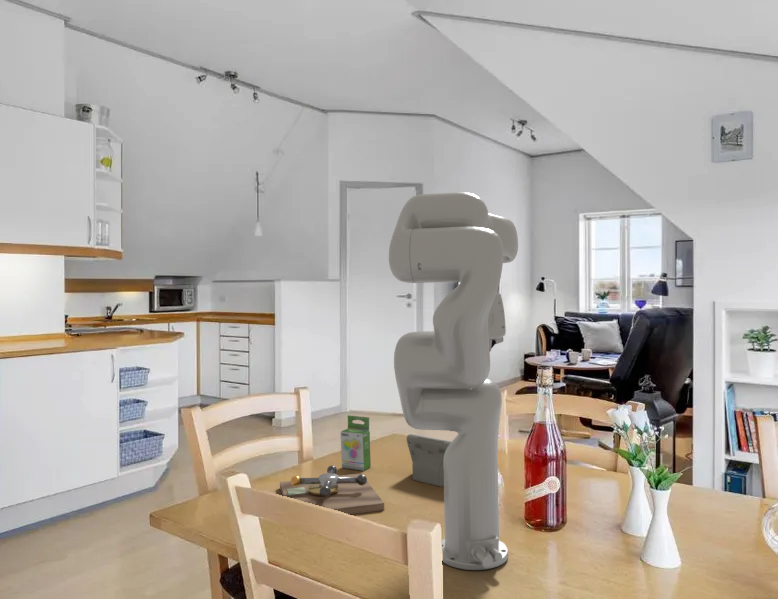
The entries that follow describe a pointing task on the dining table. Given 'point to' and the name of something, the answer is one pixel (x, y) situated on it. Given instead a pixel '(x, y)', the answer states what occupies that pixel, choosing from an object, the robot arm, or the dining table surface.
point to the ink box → (356, 444)
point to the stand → (339, 497)
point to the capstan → (327, 482)
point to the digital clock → (427, 458)
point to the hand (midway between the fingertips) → (481, 369)
